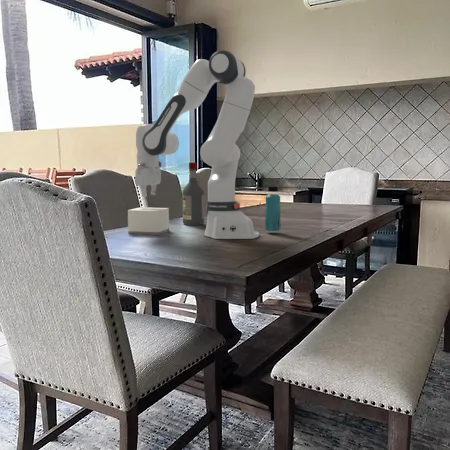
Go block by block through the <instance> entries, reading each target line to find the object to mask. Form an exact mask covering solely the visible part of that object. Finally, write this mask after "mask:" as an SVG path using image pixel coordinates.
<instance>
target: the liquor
mask: <svg viewBox="0 0 450 450" xmlns="http://www.w3.org/2000/svg"><path fill="white" fill-rule="evenodd" d="M197 167H198V165H197V162H188V170H189V172H188V173H189V175H188V176H189V180H188V183H187V184H186V186H184V188H183V189H182V191H181V192H182V193H181V194H182V198H181V199H182V223H183V225H185V226H192V227H193V226H195V227H196V226H203V225H204V223H205V191H204V189H203V188H202V186H201V185H200V184H199V182H198V180H197Z"/></svg>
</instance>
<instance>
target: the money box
mask: <svg viewBox="0 0 450 450" xmlns="http://www.w3.org/2000/svg"><path fill="white" fill-rule="evenodd" d="M169 211H170V209H169V207H136V208H132V209H127V230H128V234H129V235H130V234H133V235H134V234H135V235H155V236H156V235H158V236H160V235H162V234H164V233H166V232H169V231H170V214H169Z"/></svg>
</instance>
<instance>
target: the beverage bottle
mask: <svg viewBox="0 0 450 450" xmlns="http://www.w3.org/2000/svg"><path fill="white" fill-rule="evenodd" d="M267 191H268V192H271V194H270V193H269V194H267V195H266V196H265V213H264V214H265V225H264V226H265V231H268V232H277V231H280V230H281V228H282V227H281V224H282V223H281V216H282V215H281V196H280V195H279V194H277V193H276V194H275V193H274V194H273V193H272V192H279V190H278V186H275V185H271V186H268V187H267Z"/></svg>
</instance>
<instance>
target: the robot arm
mask: <svg viewBox="0 0 450 450" xmlns="http://www.w3.org/2000/svg"><path fill="white" fill-rule="evenodd" d="M246 72H247V71H246V67H245V64H244V63H243V62H242V60H241V59H240V58H239V57H238V56H237V55H235V54H234V53H232V52H231V51H229V50H226V49H222V50H217V51H215V52H214V53H212V55H211V56H210V58H209V60H207V59H203V58H199V59H197V60H195V62H194V63H193V64H192V65H191V67H190V68H189V70H187V73H186V75H185V76H184V78H183V79H182V81H181V83H180V85H179V87H178V89H177V90H176V91H175V93H174V95H173V96H172V97H171V99H170V100H169V101H168V103H166V105H165V107H164V109H162V112H161V113H160V115H159V117H158V118H157V120H156V121H155V122H154V124H153V123H146V124H141V125H139V126H138V127H137V128H136V131H135V147H136V151H137V153H136V167H137V168H135V173H134V176H135V177H134V181H135V185H136V187H139V188H140V190H141V192H142V193H141V196H142V197H144V198H145V197H148V196H149V195H148V191H147V186H150V187H151V189H150V195H151V196H156V195H157V192H156V191H157V187H158V185H160V184H161V181H162V170H161V168H162V166H163V165H162V162H161V161H160V159H158V158H159V155H160V156H164V155H165V156H166V155H167V156H168V155H172V154H175V153H176V152H177V150H178V149H179V145H180V144H179V143H180V141H179V138H178V136H177V135H176V134H175V133H173V132H171V130H172V128H173V126H174V125H175V123H176V122H177V121H178V119H179V118H180V117H181V116H182V115H184V114H185V113H187V112H189V111H192V110H195V109H198V108H199V107H200V106H201V105H202V103H204V101H205V99H206V98H207V95H208V94H209V91H210V90H211V89H212V87H213V86H214V84H216V83H219V84H223V85H225V86H226V93H225V96H224V100H223V102H222V105H221V107H220V110H219V111H220V112H219V114H218V116H217V117H218V118H217V120H216V122H215V124H214V125H213V128H212V130H211V132H210V134H209V135H208V137H207V139H206V141H205V142H204V143H202V145H201V147H200V150H199V151H200V152H199V154H200V158H201V160H202V161H203V162H204V163H205V164H207V165H208V166H209V167H211V172H210V176H209V179H208V180H207V201H206V216H207V219H206V226H205V231H204V235H203V236H205V237H208V238H212V239H214V240H215V239H216V240H217V239H218V240H232V239H233V240H236V239H237V240H238V239H239V240H243V239H244V240H249V239H250V240H252V239H256V238H258V237H259V236H260V232H259V231H255V229H254V224H253V223H254V222H253V221H252V219H250V217H248V216H247V215H246V214H245V213H243V212H242V211H241V210H240V209H241V208H240V207H241V203H240V202H237V201H236V178H237V177H236V176H237V171H238V167H239V160H240V158H241V149H240V148H239V146H238V145H237V143H236V142H237V141H238V138H239V137H240V135H241V134H242V133H243V131H244V130H245V127H246V124H247V121H248V118H249V115H250V112H251V109H252V106H253V102H254V98H255V92H256V85H255V84H254V82H253V81H252V80H251V79H249V78H248V77H246Z"/></svg>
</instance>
